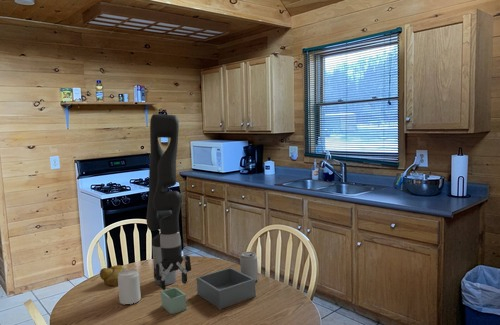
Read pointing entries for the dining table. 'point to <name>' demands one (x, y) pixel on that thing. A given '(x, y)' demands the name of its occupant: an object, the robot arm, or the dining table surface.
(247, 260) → the can
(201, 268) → the dining table surface
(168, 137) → the robot arm
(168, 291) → the small crate
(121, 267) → the bread roll
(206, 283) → the big crate
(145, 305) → the dining table surface
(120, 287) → the white cylinder
